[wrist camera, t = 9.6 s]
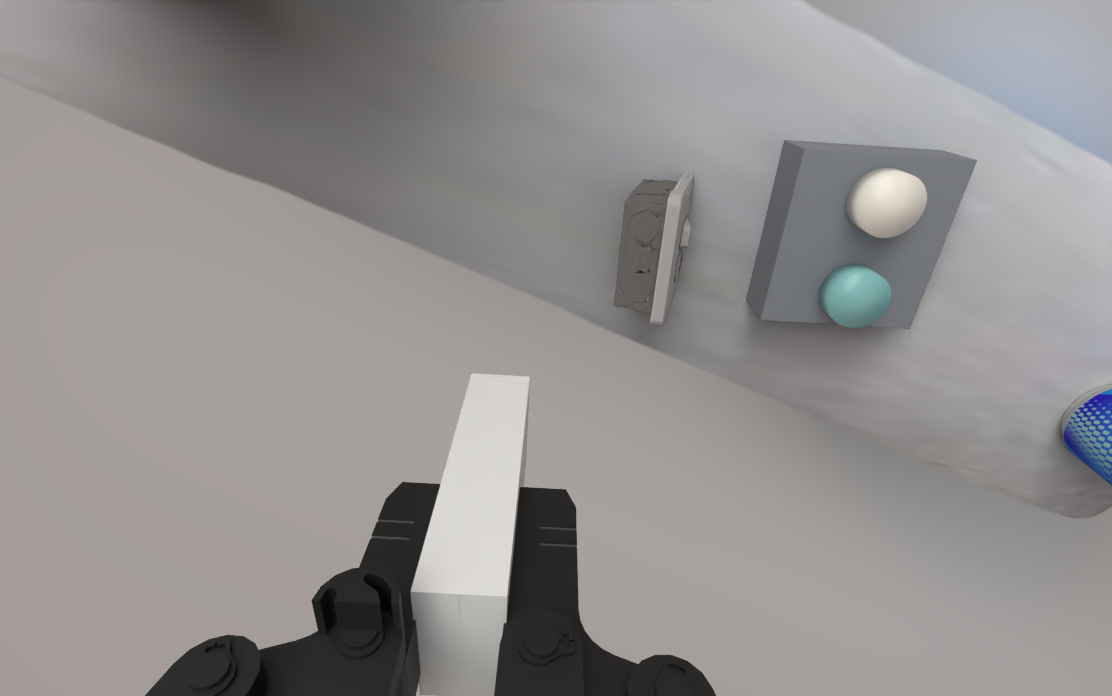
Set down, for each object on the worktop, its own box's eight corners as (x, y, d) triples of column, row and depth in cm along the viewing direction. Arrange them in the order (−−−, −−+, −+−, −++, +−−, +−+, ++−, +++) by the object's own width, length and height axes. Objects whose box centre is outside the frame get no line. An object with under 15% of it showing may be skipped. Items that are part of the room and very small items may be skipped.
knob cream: (835, 156, 42) (871, 171, 37) (894, 160, 42) (937, 175, 37) (819, 214, 44) (850, 235, 39) (874, 218, 44) (913, 239, 39)
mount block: (784, 140, 42) (804, 149, 39) (942, 150, 42) (977, 160, 39) (746, 299, 48) (760, 319, 45) (884, 308, 49) (909, 328, 45)
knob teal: (810, 247, 45) (839, 271, 40) (864, 250, 45) (899, 274, 40) (795, 297, 47) (822, 326, 43) (847, 300, 47) (879, 329, 43)
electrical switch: (676, 283, 48) (686, 331, 40) (614, 278, 48) (612, 325, 40) (694, 169, 43) (710, 197, 35) (626, 165, 44) (627, 191, 36)
